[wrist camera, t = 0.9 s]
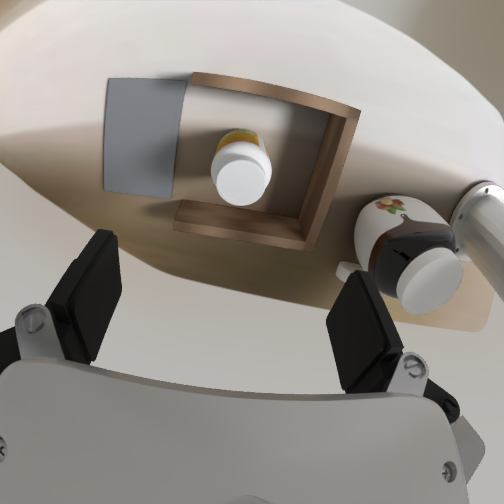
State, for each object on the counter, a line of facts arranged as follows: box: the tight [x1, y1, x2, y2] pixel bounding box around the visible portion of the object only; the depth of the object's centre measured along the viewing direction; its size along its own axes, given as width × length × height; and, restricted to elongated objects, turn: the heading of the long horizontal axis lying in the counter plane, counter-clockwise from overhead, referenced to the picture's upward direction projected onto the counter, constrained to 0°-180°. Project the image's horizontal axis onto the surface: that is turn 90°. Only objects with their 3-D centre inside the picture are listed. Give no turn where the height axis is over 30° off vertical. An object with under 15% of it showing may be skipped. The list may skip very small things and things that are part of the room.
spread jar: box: [335, 194, 463, 315], centre depth 27 cm, size 12×11×12 cm
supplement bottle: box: [211, 129, 272, 206], centre depth 23 cm, size 5×5×8 cm
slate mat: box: [104, 78, 187, 199], centre depth 24 cm, size 8×12×1 cm, turn 168°
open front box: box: [173, 72, 361, 252], centre depth 24 cm, size 13×14×4 cm
